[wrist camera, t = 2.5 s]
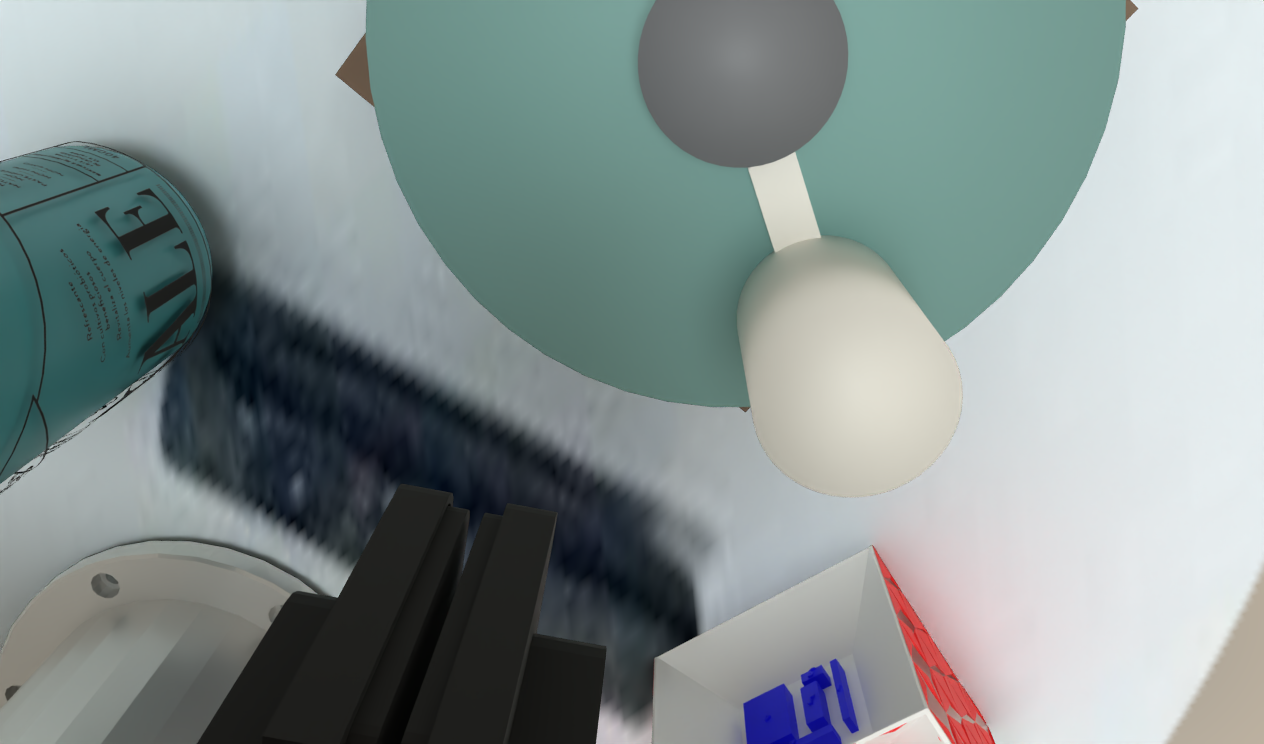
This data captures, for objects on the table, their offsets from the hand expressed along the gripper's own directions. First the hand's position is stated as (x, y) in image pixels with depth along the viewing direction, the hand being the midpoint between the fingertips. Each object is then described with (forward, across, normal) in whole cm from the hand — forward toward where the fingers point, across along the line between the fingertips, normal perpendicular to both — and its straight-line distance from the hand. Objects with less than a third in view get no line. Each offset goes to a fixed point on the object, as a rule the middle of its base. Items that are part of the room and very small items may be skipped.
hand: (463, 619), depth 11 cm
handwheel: (+14, -2, -5) cm, 15 cm away
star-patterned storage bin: (+20, -10, +14) cm, 26 cm away
